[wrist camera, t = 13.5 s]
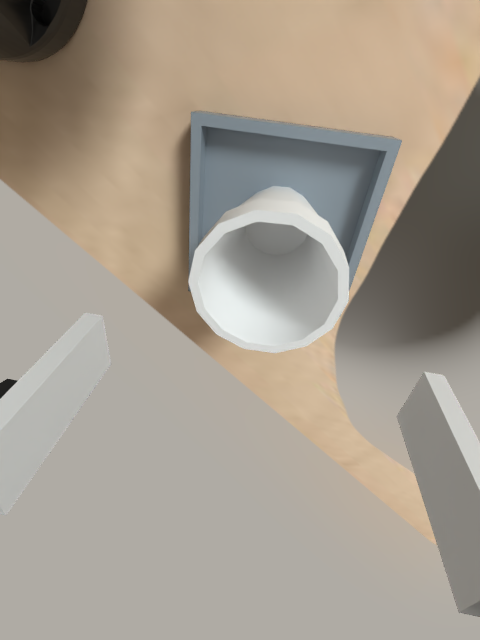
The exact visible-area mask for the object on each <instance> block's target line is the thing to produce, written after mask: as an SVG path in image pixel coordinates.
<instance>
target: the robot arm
mask: <svg viewBox="0 0 480 640" xmlns="http://www.w3.org/2000/svg"><path fill="white" fill-rule="evenodd" d="M86 2H87V0H0V60H7V61H15V62H33V61H38V60H42V59H44V58H47V57H49V56H51V55H53V54H54V53H56V52H57V51H58V50H60V49H61V48H62V47H63V46H64V45H65V44H66V43H67V42H68V40H69V39H70V38H71V37H72V35H73V33H74V32H75V30H76V28H77V26H78V25H79V23H80V20H81V18H82V15H83V12H84V9H85V6H86ZM110 365H111V360H110V354H109V348H108V342H107V337H106V331H105V325H104V319H103V316H102V315H97V314H91V313H84V314H83V315H82V316H81V317H80V318H79V319H78V320H77V321H76V322H75V323H74V324H73V325H72V326H71V327H70V328H69V330H67V332H66V333H65V334H64V335H63V336H62V337H61V338H60V339H59V340H58V341H57V342H56V343H55V344H54V345H53V346H52V347H51V348H50V349H49V350H48V351H47V352H46V353H45V354H44V355H43V356H42V357H41V358H40V359H39V360H38V361H37V362H36V363H35V364H34V365H33V366H32V367H31V368H30V369H29V370H28V371H27V372H26V373H25V374H24V375H23V376H22V377H21V378H20V379H19V380H18V381H16V380H11V379H6V380H5V381H3V382H1V383H0V514H2V515H7V513H8V512H9V510H10V509H11V508H12V506H13V505H14V503H15V502H16V500H17V499H18V498H19V496H20V495H21V493H22V492H23V490H24V489H25V487H26V486H27V485H28V483H29V482H30V480H31V479H32V477H33V476H34V474H35V473H36V472H37V470H38V469H39V467H40V466H41V464H42V463H43V461H44V460H45V459H46V457H47V456H48V454H49V453H50V451H51V450H52V449H53V447H54V446H55V444H56V443H57V441H58V440H59V439H60V437H61V435H62V434H63V433H64V431H65V430H66V428H67V427H68V426H69V424H70V423H71V421H72V420H73V418H74V417H75V415H76V414H77V413H78V411H79V410H80V408H81V407H82V405H83V404H84V403H85V401H86V400H87V398H88V397H89V395H90V394H91V392H92V391H93V390H94V388H95V387H96V385H97V384H98V382H99V381H100V379H101V378H102V377H103V375H104V374H105V372H106V371H107V369H108V368H109V367H110ZM397 419H398V422H399V425H400V428H401V431H402V435H403V438H404V441H405V444H406V447H407V451H408V454H409V457H410V460H411V463H412V466H413V469H414V473H415V476H416V479H417V482H418V485H419V488H420V492H421V495H422V498H423V501H424V504H425V507H426V511H427V514H428V517H429V520H430V523H431V526H432V530H433V533H434V536H435V539H436V542H437V545H438V548H439V551H440V555H441V558H442V561H443V564H444V567H445V571H446V573H447V577H448V580H449V583H450V586H451V589H452V593H453V596H454V599H455V602H456V605H457V609H458V611H459V613H464V614H469V615H473V616H478V617H480V442H479V440H478V438H477V436H476V435H475V433H474V431H473V429H472V427H471V425H470V423H469V421H468V419H467V417H466V416H465V414H464V412H463V410H462V408H461V406H460V404H459V403H458V401H457V399H456V397H455V395H454V393H453V391H452V390H451V388H450V386H449V384H448V382H447V380H446V378H445V376H444V375H439V374H434V373H428V372H424V373H423V374H422V376H421V378H420V379H419V381H418V383H417V384H416V386H415V387H414V389H413V390H412V392H411V394H410V395H409V397H408V399H407V400H406V402H405V404H404V405H403V407H402V408H401V410H400V412H399V413H398V415H397Z"/></svg>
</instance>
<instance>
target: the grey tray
mask: <svg viewBox="0 0 480 640" xmlns="http://www.w3.org/2000/svg"><path fill="white" fill-rule="evenodd" d="M401 142H402V140H400V139H397V138H394V137H389V136H382V135H374V134H367V133H360V132H352V131H345V130H338V129H330V128H323V127H315V126H308V125H301V124H293V123H286V122H279V121H271V120H264V119H256V118H249V117H242V116H234V115H227V114H220V113H212V112H205V111H194V112H191V161H190V225H189V276H190V271H191V267H192V262H193V257H194V253H195V250H196V248H197V247H198V245H199V244H200V242H201V241H202V239H203V238H204V236H205V235H206V234H207V233H208V232H209V230H210V229H211V228H212V227H213V226H214V225H215V224H216V222H217V221H218V220H219V219H220V218H221V217H222V216H223V214H224V213H225V212H226V211H228V210H231V209H233V208H236V207H238V206H240V205H241V204H242V203H244V202H245V201H246V200H248V199H249V198H250V197H252V196H253V195H254V194H256V193H257V192H259V191H262V190H264V189H267V188H269V187H272V186H280V187H290V188H291V189H293V190H295V191H296V192H298V193H299V194H301V195H302V196H304V197H305V199H306V200H307V201H308V203H309V204H310V205H311V206H312V208H313V209H314V210H315V212H316V213H317V214H318V215H319V216H320V217H322V218H323V219H325V220H326V221H328V223H329V225H330V227H331V228H332V230H333V232H334V234H335V236H336V237H337V239H338V241H339V243H340V245H341V246H342V248H343V250H344V253H345V256H346V259H347V262H348V265H349V290H350V287H351V284H352V282H353V279H354V276H355V273H356V270H357V267H358V265H359V262H360V259H361V256H362V253H363V250H364V248H365V245H366V242H367V239H368V236H369V233H370V230H371V228H372V225H373V222H374V219H375V216H376V213H377V211H378V208H379V205H380V202H381V199H382V196H383V193H384V191H385V188H386V185H387V182H388V179H389V176H390V174H391V171H392V168H393V165H394V162H395V159H396V157H397V154H398V151H399V148H400V145H401ZM188 291H190V292H191V290H190V286H189V289H188ZM340 316H341V315H340ZM340 316H339V317H340Z"/></svg>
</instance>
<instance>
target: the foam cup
mask: <svg viewBox="0 0 480 640" xmlns="http://www.w3.org/2000/svg"><path fill="white" fill-rule="evenodd" d="M188 283H189V286H190V290H191V293H192V297H193V300H194V304H195V307H196V311H197V312H198V313H199V315H200V316H201V317H202V318H203V319H204V320H205V322H206V323H207V324H208V325H209V326H210V327H211V329H212V330H213V331H214V332H215V333H216V334H217V335H219V336H220V337H222V338H224V339H226V340H228V341H230V342H232V343H234V344H236V345H238V346H239V347H241V348H243V349H249V350H256V351H263V352H271V353H278V352H283V351H287V350H292V349H296V348H301V347H306V346H307V345H309V344H310V343H312V342H313V341H315V340H316V339H318V338H319V337H321V336H322V335H324V334H325V333H327V332H328V331H330V330H331V329H332V328H333V327H334V325H335V323H336V322H337V320H338V318H339V316H340V315H341V313H342V311H343V310H344V308H345V306H346V305H347V303H348V301H349V265H348V262H347V259H346V256H345V253H344V250H343V248H342V246H341V245H340V243H339V241H338V239H337V237H336V236H335V234H334V232H333V230H332V228H331V227H330V225H329V223H328V221H326V220H325V219H323V218H322V217H320V216H319V215H318V214H317V213H316V212H315V210H314V209H313V208H312V206H311V205H310V204H309V203H308V201H307V200H306V199H305V197H304V196H302V195H301V194H299V193H298V192H296V191H295V190H293V189H291V188H290V187H280V186H272V187H269V188H267V189H264V190H262V191H259V192H257V193H256V194H254V195H253V196H252V197H250V198H249V199H248V200H246V201H245V202H244V203H242V204H241V205H240V206H238V207H236V208H233V209H231V210H228V211H226V212H225V213H224V214H223V216H222V217H221V218H220V219H219V220H218V221H217V222H216V224H215V225H214V226H213V227H212V228H211V229H210V230H209V232H208V233H207V234H206V235H205V236H204V238H203V239H202V241H201V242H200V244H199V245H198V247H197V248H196V250H195V253H194V257H193V262H192V267H191V271H190V276H189V280H188Z"/></svg>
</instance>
